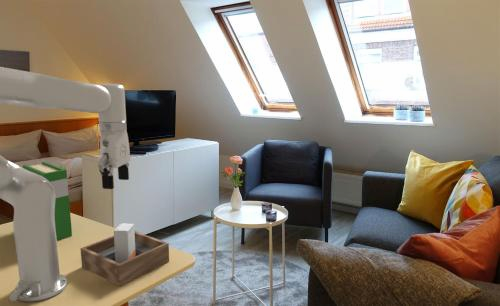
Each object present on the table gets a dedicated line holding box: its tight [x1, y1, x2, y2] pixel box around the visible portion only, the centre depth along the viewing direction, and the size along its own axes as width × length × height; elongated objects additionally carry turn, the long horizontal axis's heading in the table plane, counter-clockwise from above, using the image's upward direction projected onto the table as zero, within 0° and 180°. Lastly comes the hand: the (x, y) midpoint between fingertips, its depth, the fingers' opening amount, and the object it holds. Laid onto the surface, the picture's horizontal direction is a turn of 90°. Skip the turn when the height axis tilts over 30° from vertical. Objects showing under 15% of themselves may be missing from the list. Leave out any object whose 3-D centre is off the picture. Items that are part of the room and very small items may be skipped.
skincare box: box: [113, 222, 136, 263], centre depth 122 cm, size 6×4×12 cm
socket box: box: [80, 230, 170, 287], centre depth 123 cm, size 18×18×6 cm
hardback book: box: [22, 161, 73, 242], centre depth 144 cm, size 18×7×24 cm, turn 49°
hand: (116, 183), depth 122 cm, fingers open, 9 cm apart
